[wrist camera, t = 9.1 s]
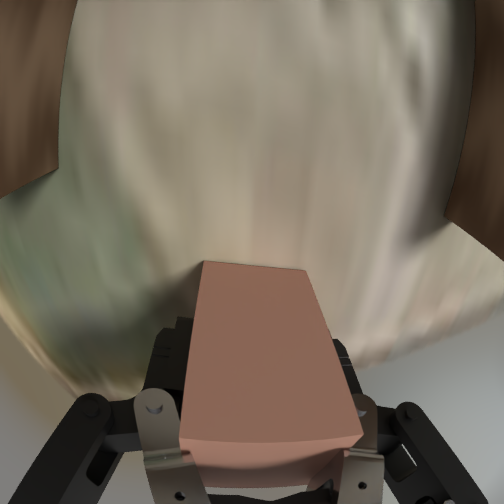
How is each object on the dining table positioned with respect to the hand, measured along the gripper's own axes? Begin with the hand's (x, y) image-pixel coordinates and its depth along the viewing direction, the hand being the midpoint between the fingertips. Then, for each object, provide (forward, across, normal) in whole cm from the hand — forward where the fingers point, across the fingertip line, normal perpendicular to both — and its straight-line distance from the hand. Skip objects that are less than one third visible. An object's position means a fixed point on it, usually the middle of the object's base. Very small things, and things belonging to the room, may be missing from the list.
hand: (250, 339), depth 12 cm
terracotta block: (+2, 0, 0) cm, 2 cm away
